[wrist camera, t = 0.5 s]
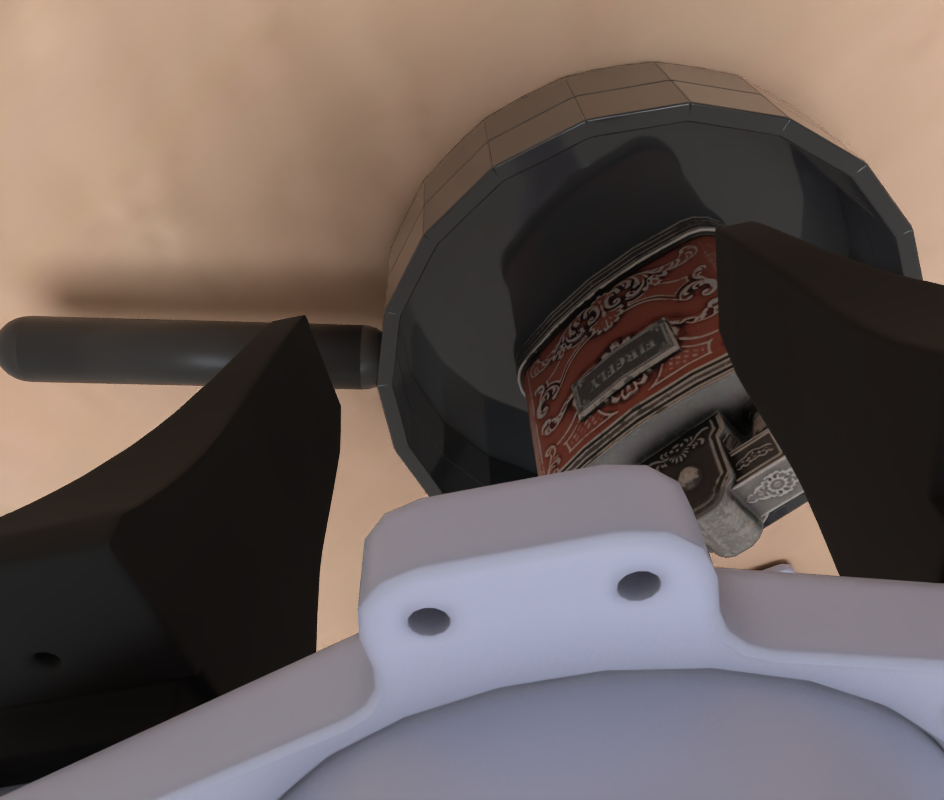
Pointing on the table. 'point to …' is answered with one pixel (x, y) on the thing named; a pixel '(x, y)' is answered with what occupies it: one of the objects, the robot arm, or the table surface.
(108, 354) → the pan handle
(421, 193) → the pan
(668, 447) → the lighter
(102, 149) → the table surface
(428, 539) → the robot arm
